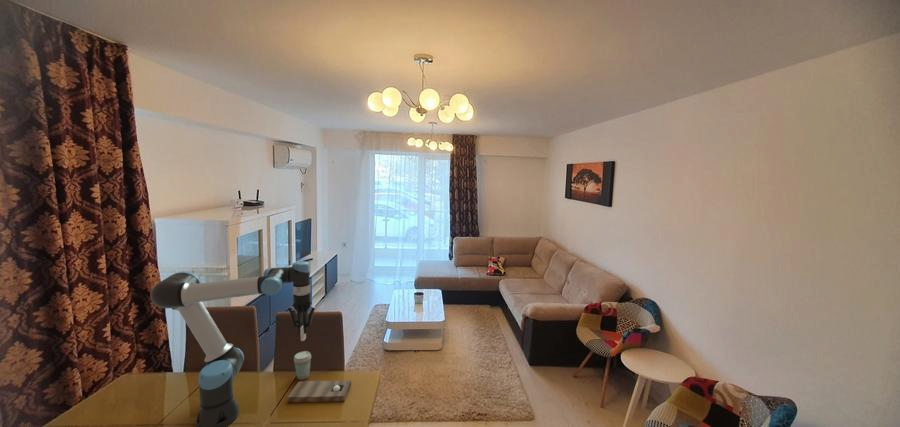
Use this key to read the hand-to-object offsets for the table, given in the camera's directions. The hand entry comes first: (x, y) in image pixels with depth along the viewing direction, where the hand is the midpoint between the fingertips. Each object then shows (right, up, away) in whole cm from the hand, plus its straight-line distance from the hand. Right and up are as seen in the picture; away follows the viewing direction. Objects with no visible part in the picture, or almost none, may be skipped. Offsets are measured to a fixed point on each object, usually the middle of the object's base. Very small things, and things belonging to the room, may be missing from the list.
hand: (303, 339), depth 161 cm
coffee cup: (-5, -24, +10) cm, 26 cm away
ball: (+17, -23, -3) cm, 29 cm away
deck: (+10, -25, -3) cm, 27 cm away
